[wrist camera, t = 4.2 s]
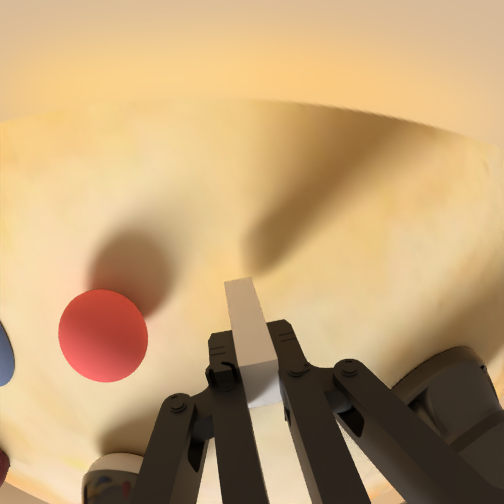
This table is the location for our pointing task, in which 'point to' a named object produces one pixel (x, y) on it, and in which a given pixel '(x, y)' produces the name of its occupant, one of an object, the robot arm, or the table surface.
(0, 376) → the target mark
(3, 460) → the vegetable
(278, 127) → the table surface
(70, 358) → the ball
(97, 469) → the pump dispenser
